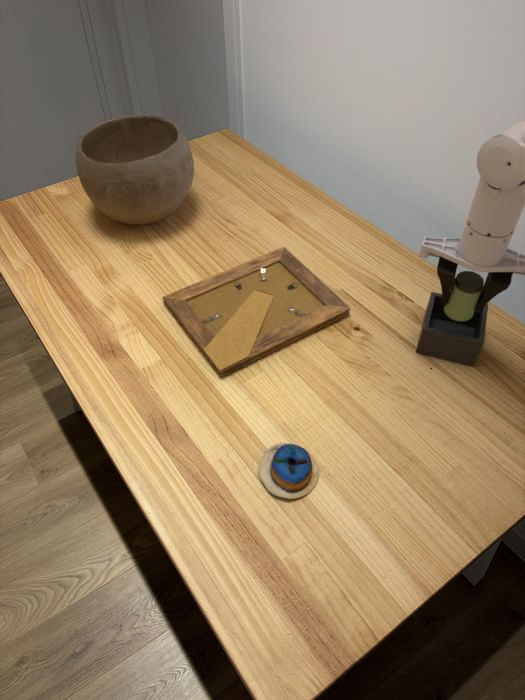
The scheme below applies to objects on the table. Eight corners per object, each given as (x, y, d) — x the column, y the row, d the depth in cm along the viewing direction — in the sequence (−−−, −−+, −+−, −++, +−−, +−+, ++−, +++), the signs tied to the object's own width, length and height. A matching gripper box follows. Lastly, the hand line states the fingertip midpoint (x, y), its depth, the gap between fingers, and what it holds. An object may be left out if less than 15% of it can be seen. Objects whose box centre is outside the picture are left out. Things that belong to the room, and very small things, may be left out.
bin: (478, 327, 86) (488, 304, 82) (473, 367, 81) (483, 343, 77) (424, 315, 88) (431, 291, 84) (415, 352, 83) (422, 329, 79)
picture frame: (220, 378, 80) (349, 315, 88) (219, 370, 78) (350, 306, 87) (163, 303, 90) (283, 253, 98) (161, 295, 89) (284, 245, 97)
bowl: (73, 203, 109) (50, 130, 98) (164, 169, 117) (153, 98, 106) (121, 257, 98) (102, 181, 87) (219, 215, 106) (213, 141, 95)
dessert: (327, 495, 66) (299, 474, 63) (282, 514, 69) (253, 496, 65) (317, 441, 72) (291, 419, 69) (276, 461, 75) (250, 441, 71)
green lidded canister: (474, 305, 79) (487, 273, 75) (470, 324, 77) (483, 292, 72) (446, 299, 80) (457, 267, 76) (441, 317, 78) (452, 285, 73)
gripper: (554, 216, 68) (516, 297, 78) (435, 195, 71) (414, 275, 82) (553, 250, 64) (514, 331, 74) (426, 225, 67) (405, 306, 77)
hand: (461, 304), depth 78 cm, fingers closed on green lidded canister, 4 cm apart
